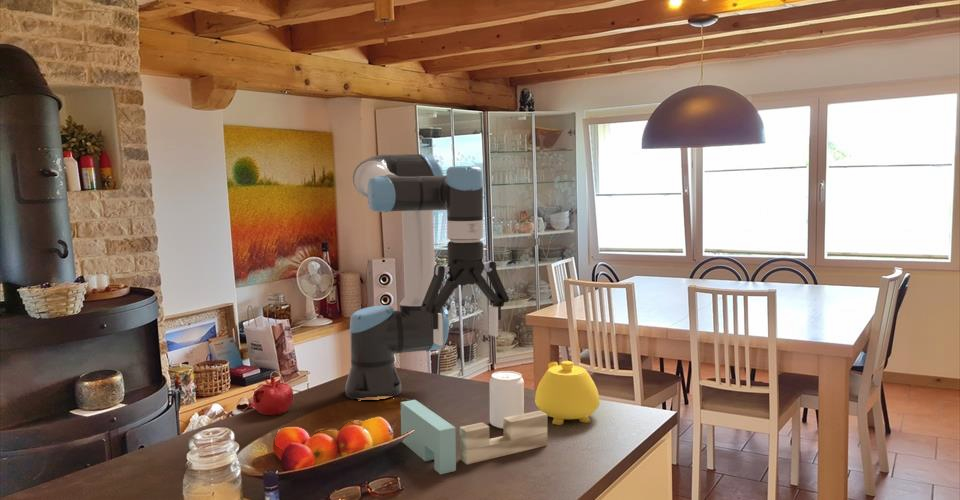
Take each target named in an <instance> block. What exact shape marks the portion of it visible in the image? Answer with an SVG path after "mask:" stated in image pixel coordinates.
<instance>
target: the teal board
mask: <svg viewBox="0 0 960 500" xmlns="http://www.w3.org/2000/svg"><path fill="white" fill-rule="evenodd" d="M412 430H415V431H414V432H413V433H412V434H410V435H409V436H408V437H406V438H405V439H404V440H403V441H401V442H402V443H403V444H404V445H406V447H407V448H409V449H410V451H412V452H413V453H414V454H416V455H417V456H418V457H419V458H421V459H422V460H423V461H424V462H428V461H433V460H434V461H433V462H434V469H433V470H434V471H435V472H436V473H438V474H439V475H444V474H448V473H451V472H455V471H457V450H456V448H457V446H456V444H457V443H456V440H457V439H456V437H457V436H456V434H457V433H456V427H455V426H454V425H453V424H451V423H450V422H448V421H447V420H445V419H444V418H442V417H441V416H439V415H438V414H437V413H435V412H434V411H432V410H431V409H429V408H428V407H427V406H425V405H424V404H423V403H421V402H419V401H418V400H416V399H411V400H405V401H400V436H401V435H403V434H406V433H407V432H410V431H412Z"/></svg>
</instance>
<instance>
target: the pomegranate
mask: <svg viewBox="0 0 960 500" xmlns="http://www.w3.org/2000/svg"><path fill="white" fill-rule="evenodd" d="M269 379H270V382H269V381H268V380H263V382H265V383H260V384H259V385H258V386H256V387H257V389H256V391H255V392H254V393H253V395H252V402H253V406H254V408H255V410H256V412H258V413H259V414H261V415H266V416H276V415H281V414H285V413H286V412H287V411H288V410H289V409H290V408H291V407H292V405H293V401H294V397H295V396H294V390H293V388H292V386H290V385H289V384H287V383H283V382H281V381H285V382H286V381H288V380H287V379H283V378H280V379H278V380H277V381H276V378H275V375H272V376H270V378H269Z"/></svg>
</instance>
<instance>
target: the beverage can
mask: <svg viewBox="0 0 960 500" xmlns="http://www.w3.org/2000/svg"><path fill="white" fill-rule="evenodd" d="M524 383H525V380H524V378H523V376H522V373H520V372H516V371H512V370H500V371H494V372H493V373H491V377H490V378H489V383H488V384H489V424H491V426H493V427H495V428H498V429H503V418H506V417H510V416H515V415H520V414H525V409H524V408H525V393H524V392H525V390H524V389H525V384H524Z"/></svg>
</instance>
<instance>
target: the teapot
mask: <svg viewBox="0 0 960 500" xmlns="http://www.w3.org/2000/svg"><path fill="white" fill-rule="evenodd" d="M547 366H548V367H547V368H548V369H547V370H546V372H545V373H544V375H543V376H542V377H541V379H540V381H539V383H538V385H537V388H536V392H535V397H534V403H535V405H536V407H537V409H539V410H540V411H542V412H544V413H546V414H547V417H551V418H553V419H552V422H551V423H552V424H553V425H555V424H556V425H557V426H562V425H563V424H564V423H565V420H578V422H581V423H585V424H586V423H590V422H591V418H589V417H590V416H591V415H593V414H594V413H595V411H597V409H599V406H600V395H599V391H598V388H597V386H596V383H595V381H594V380H593V378H592V377H591V375H590V373H589V372H588V371H587V369H585V368H584V367H583V366H578V365H575V364H574V361H571V360H563V361H560V364H559V363H558V362H557V361H551V362H549V363H548V364H547Z"/></svg>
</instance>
